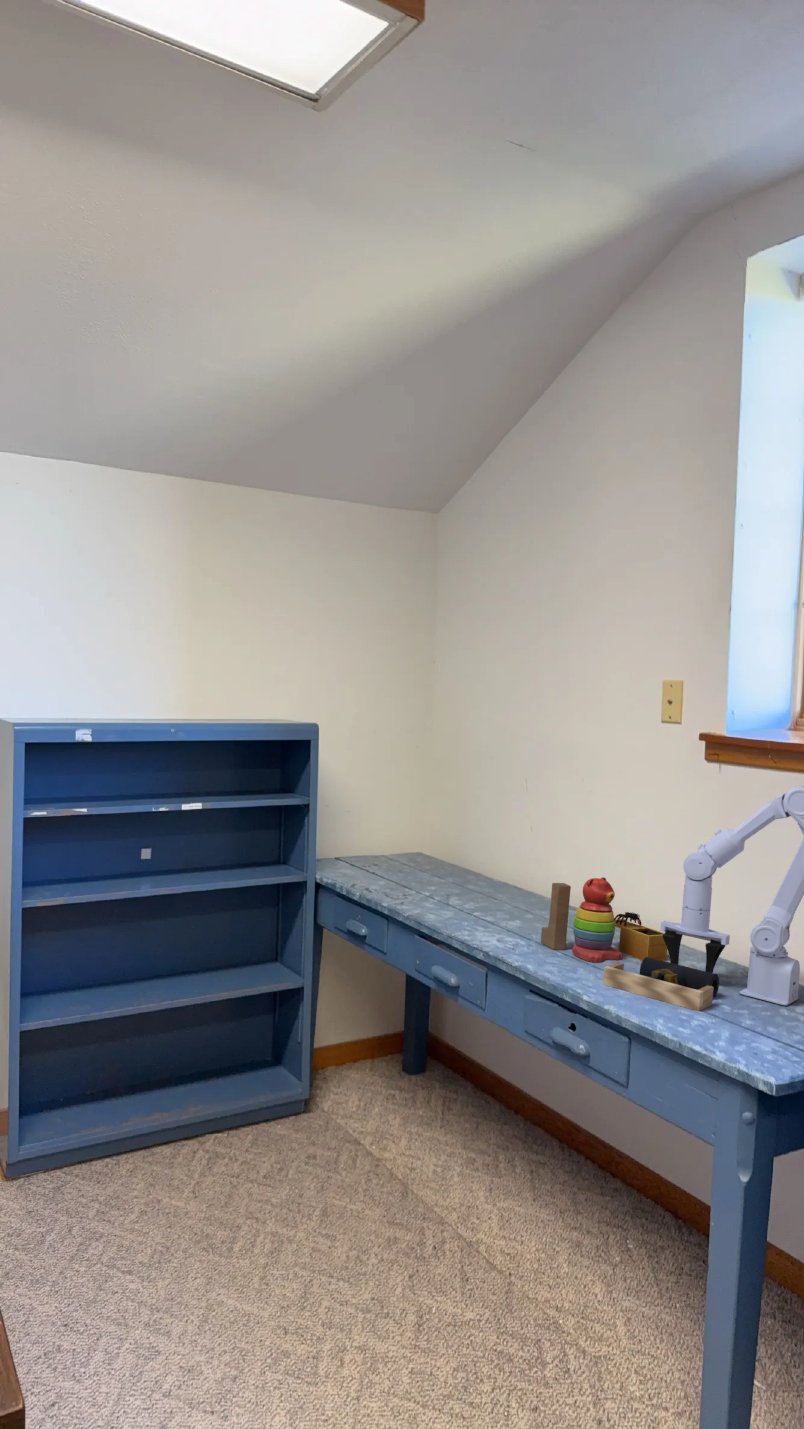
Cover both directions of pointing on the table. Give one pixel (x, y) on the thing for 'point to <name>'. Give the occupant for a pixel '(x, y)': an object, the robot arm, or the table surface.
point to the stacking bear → (595, 923)
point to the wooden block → (557, 918)
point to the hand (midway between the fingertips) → (691, 971)
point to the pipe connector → (679, 974)
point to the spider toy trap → (639, 939)
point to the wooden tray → (657, 988)
